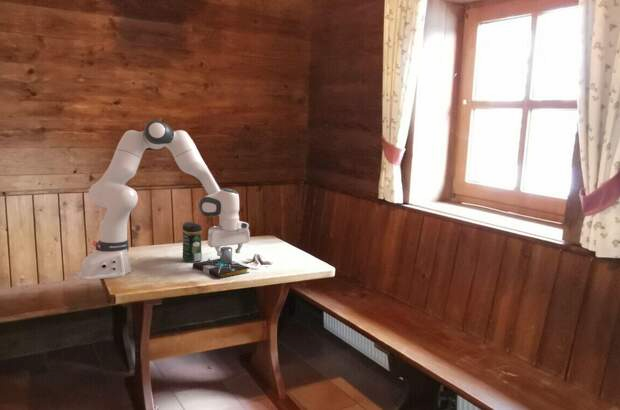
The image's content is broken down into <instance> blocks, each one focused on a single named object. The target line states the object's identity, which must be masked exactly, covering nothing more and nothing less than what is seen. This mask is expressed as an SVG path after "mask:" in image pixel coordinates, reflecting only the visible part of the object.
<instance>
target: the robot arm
mask: <svg viewBox="0 0 620 410" xmlns="http://www.w3.org/2000/svg"><path fill="white" fill-rule="evenodd" d="M165 148H166V149H168V150H169V151H170V153H171V155H172V157H173V158H174V161H175V163H176V165H177V166H178V168H179V170H181V171H182V172H184V173H185V174H188V175H191V176H193V177H195V178H196V179H198V180H199V181H200V183H201V185H202V186H203V188H204V190H205V192H206V193H207V195H206V196H203V197H202V198H201V199H200V200H199V203H198V210H199V212H200V213H201V214H202V215H203V216H205V217H210V218H211V217H216V216H218V218H219V219H218V220H219V223H218V224H219V225H215V226H214V225H212V226H210V227H209V228H208V230H207V234H208V236H207V245H208V247H210V248H214V249H215V251H216V255H217V256H218V257H220V256H222V252H221V251H220V248H221V247H228V246H234V245H237V247H236V249H235V251H234V252H235V254H241V249H242V248H243V244H247V243H249V242H250V240H251V237H250V236H251V233H250V229H249V227H250V225H249V223H248V222H245V221H243V220H240V215H239V212H240V196H239V192H238V191H236V190H235V189H233V188H226V187H225V188H222V189H221V187H220V185H219V184H218V182H217V180H216V179H215V177H214V175H213V174H212V172H211V170H210V169H209V166H208V165H207V164H206V163H205V161H204V159H203V158H202V156H201V153H200V152H199V150H198V148H197V146H196V144H195V142H194V140H193V139H192V138H191V136H190V134H189V133H188V132H187V131H185V130H183V129H177V130H174V129H173V128H172V127H171V126H169V125H168V124H166V122H163V120H162V121H161V120H159V119H154V120H150V121H149V122H147V124H146V125H145V126H144V129H143V130H142V131H137V130H135V129H130V130H127V131H126V132H125V131H124V133H123V135H122V136H121V138H120V140H119V143H118V144H117V146H116V149H115V151H114V153H113V156H112V158H111V161H110V163H109V166H108V168H106V170H105V172H104V173H103V175H102V177H100V178H99V180H98V181H96V182H95V183H94V184H91V186H90V187H89V189H88V198H89V201H90V202H91V203H93V204H95V205H96V206H98V207H100V208H105V209H106V211H105V216H104V218H103V219H101V221H100V223H99V240H98V241H96V240H93V241H92V242H91V244H92V246H93V247H95V249H94V250H93V251H92V252H91V253H90V254H88V255H87V256H85V257H84V259H83V260H82V262H81V269H77V270H76V272H75V275H76V277H78V278H79V279H81V280H85V281H88V280H89V281H91V280H92V281H93V280H101V279H111V278H122V277H125V276H126V275H128V274H130V273H131V272H132V267H131V264H130V263H131V262H130V258H129V250H130V249H129V248H130V247H129V239H128V221H129V217H130V214H131V212H132V210H133V209H135V207H136V206H137V204H138V200H139V196H138V193H137V191H136V190H135V189H134V188H132V187H130V186H128V185H126V183H128V181H129V180H131V179H133V178H134V177H135V175H136V174H137V170H138V168H139V166H140V163H141V161H142V158H143V155H144V152H145V151H161V150H163V149H165Z"/></svg>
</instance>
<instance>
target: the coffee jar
mask: <svg viewBox="0 0 620 410" xmlns="http://www.w3.org/2000/svg"><path fill="white" fill-rule="evenodd" d="M202 231H203V228H202V225H201V224H198V223H197V222H193V221H187V222H186V221H185V222H184V223H183V224H182V260H184V261H185V262H188V263H193V262H202V261H203V260H202V257H203V256H202V233H203V232H202Z"/></svg>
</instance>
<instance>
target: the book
mask: <svg viewBox="0 0 620 410" xmlns="http://www.w3.org/2000/svg"><path fill="white" fill-rule="evenodd" d="M192 269H195V270H198V271H201V272H203V273H204V274H206V275H208V276H211V277H213V278H216V279H217V280H221V279H225V278H226V279H227V278H231V277H234V276H235V277H236V276H240V275H245V274H249V273H250V271H248V270H250V269H249V267H247V266H246V265H244V264H239V262H238V261H234V260H232V263H229V264H223V263H222V261H221V262H220V257H219V258H215V259H211V258H208V259H207V260H204V261H203V260H201V261H198V262H192Z"/></svg>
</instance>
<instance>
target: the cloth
mask: <svg viewBox="0 0 620 410" xmlns="http://www.w3.org/2000/svg"><path fill="white" fill-rule="evenodd" d="M276 262H277V261H275V260H273V259H269V258H268V257H265V256H264V257H263V255H262V254H261V252H259V251H258V252H255V253H254V256H253V257H252V258H250V257H245V258H242V259H241V260H240V261H239V262H238V263H239V264H241V265H244V264H245V266H247V267H249V269H248V270H256V269H257V271H260V270H259V269H262V270H263V268H262V266H261V265H271V266H273V265H272V264H274V263H276ZM276 264H277V263H276ZM274 265H275V264H274ZM271 266H265V268H272V267H271Z"/></svg>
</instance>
